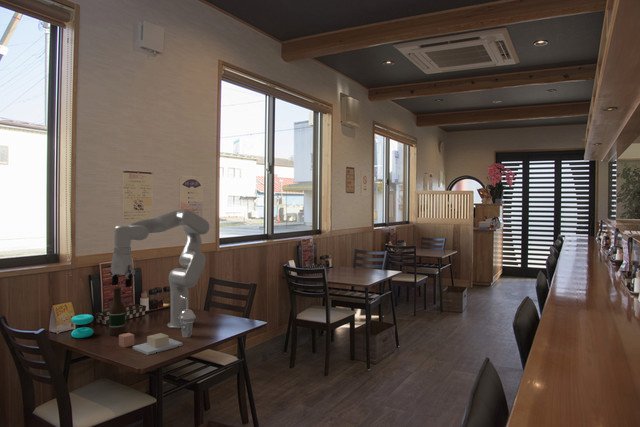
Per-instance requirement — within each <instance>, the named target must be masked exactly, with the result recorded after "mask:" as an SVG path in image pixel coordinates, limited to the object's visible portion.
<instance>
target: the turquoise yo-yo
mask: <svg viewBox="0 0 640 427" xmlns="http://www.w3.org/2000/svg"><path fill="white" fill-rule="evenodd" d="M93 321H94V316H93V315H92V314H88V313H86V314H85V313H84V314H78V315H75V316H72V318H71V323H72V324H74V325H78V326H79V325H87V324H90V323H92V322H93ZM94 332H95V331H94V329H93V328H92V327H87V326H83V327H78V328H75V329H74V330H72V332H71V336H72V338H75V339H83V338H88V337H91V336H93V334H94Z"/></svg>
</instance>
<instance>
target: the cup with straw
mask: <svg viewBox="0 0 640 427" xmlns="http://www.w3.org/2000/svg"><path fill="white" fill-rule="evenodd" d="M180 297H181V298H183V299H186V309H184V310H183V311H182V312H181V313H180V315H179V316H178V318H179V319H180V323H181V328H180V330H181V335H182V336H181V337H182V338H184V339H185V338H186V339H187V338H190V337H192V333H193V325H194V321H195V319H194V318H195V316H196V314H195V313H194V312H193V310H191V309H190V308H189V303H188V299H187V298H185V297H182V296H180Z"/></svg>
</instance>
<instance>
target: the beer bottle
mask: <svg viewBox="0 0 640 427" xmlns="http://www.w3.org/2000/svg"><path fill="white" fill-rule="evenodd" d="M112 290H113V300H112V303H111V305H110V308H109V310H108V333H109V335H110V336H112V337H114V336H115V337H119V335H121V334H125V333H126V328H127V327H126V321H127V320H126V319H127V318H126V314H127V313H126V307H125V305H124V304H123V302H122V292H121V291H122V287H120V286H116V287H114V288H112Z"/></svg>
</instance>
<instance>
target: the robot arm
mask: <svg viewBox="0 0 640 427" xmlns="http://www.w3.org/2000/svg"><path fill="white" fill-rule="evenodd" d="M180 226H183V231H184V233H185V235H186V241H185V244H184V247H183V248H182V252H181V253H180V255H179V257H178V258H179V259H178V263H179V265H180V266H181V267H183V268H180V267H177V268H173V269H172V270H171V271H170V272H169V274H168V283H169V292H170V322H168V323H167V325H166V326H167V327H168V328H170V329H181V323H180V319H179V318H178V316H179V315H180V313H181V312H182V311H183V310H184V309H186V299H183V298H181V297H180V296H182V297H185V298H187V299H188V304H189V298H190V296H189V295H190V294H189V289H188V288H194V287H195V286H196V285H197V283H198V282H199V280H200V278H201V275H202V273H203V270H204V268H205V265H206V261H207V260H206V256H205V254H204V252H201V251H200V250H201V247H202V237H201V236H202V235H206V234H208V232H209V230H210V222H208V221H207V220H206V218H203V217H202V216H200V215H198V214H197V213H195V212H193V211H191V210H189V209H187V210H186V209H175V210H173V211H169V212H167V213H164V214H161V215H157V216H154V217H150V218H148V219H147V218H146V219H143V220H138V221H134V222H132V223H129V224H127V225H116V226H115V228H114V234H113V235H114V244H113V253H112V258H111V265H110V267H108V269H109V272H110V276H111V286H117V285H119V276H125V288H131V287H132V286H133V284H132V283H133V279H134V276H135V273H136V270H135V268H134V267H133V258H132V241H143V240H146V239H147V238H148V237H149V234H155V233H157V234H158V233H163V232H167V231H168V230H172V229H174V228H177V227H180ZM196 319H197V317H196V315H195V318H194V320H196Z"/></svg>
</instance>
